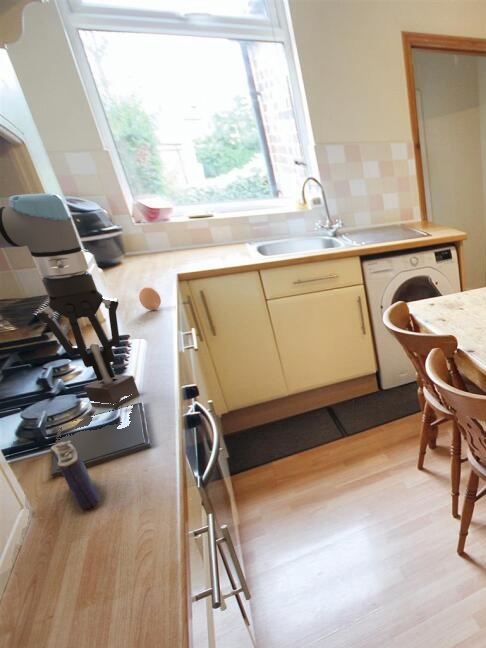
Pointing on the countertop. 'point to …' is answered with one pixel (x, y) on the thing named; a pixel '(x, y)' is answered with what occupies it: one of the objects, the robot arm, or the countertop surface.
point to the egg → (149, 298)
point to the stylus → (100, 363)
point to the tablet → (108, 440)
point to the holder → (112, 391)
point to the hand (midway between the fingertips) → (106, 376)
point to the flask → (76, 475)
